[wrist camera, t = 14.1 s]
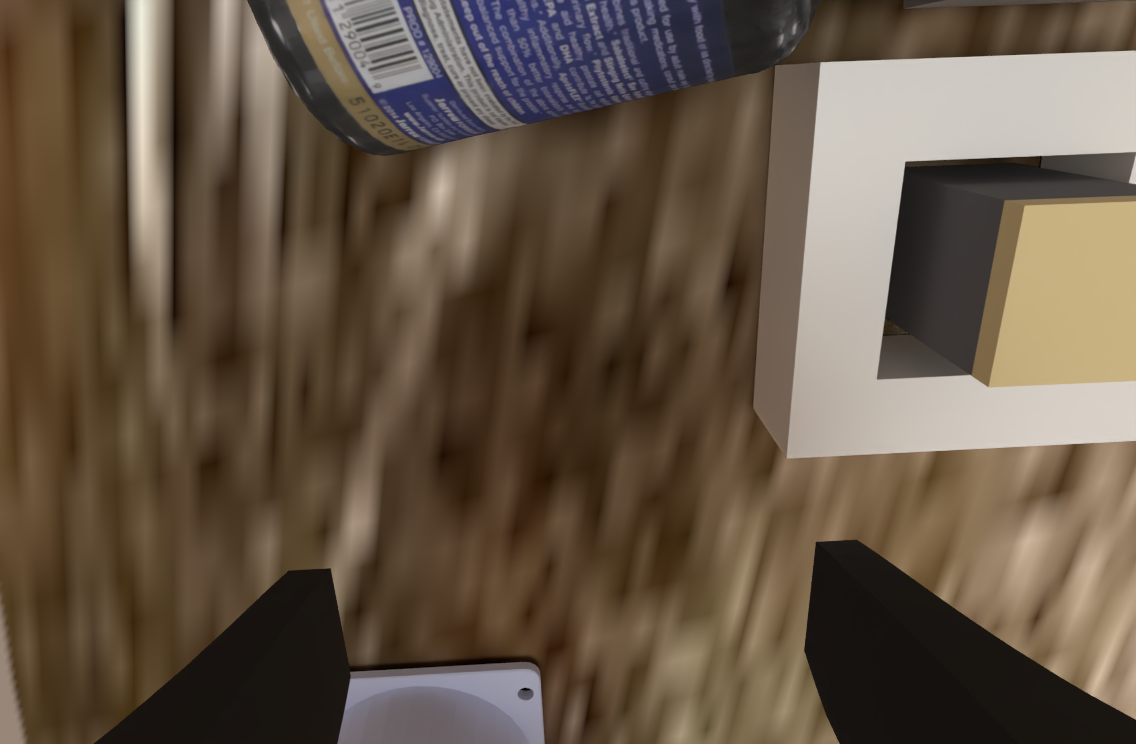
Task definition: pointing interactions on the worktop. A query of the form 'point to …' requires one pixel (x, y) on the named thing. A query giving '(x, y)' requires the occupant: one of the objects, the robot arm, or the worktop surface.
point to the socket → (867, 236)
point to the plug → (1018, 272)
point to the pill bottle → (508, 58)
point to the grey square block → (984, 2)
